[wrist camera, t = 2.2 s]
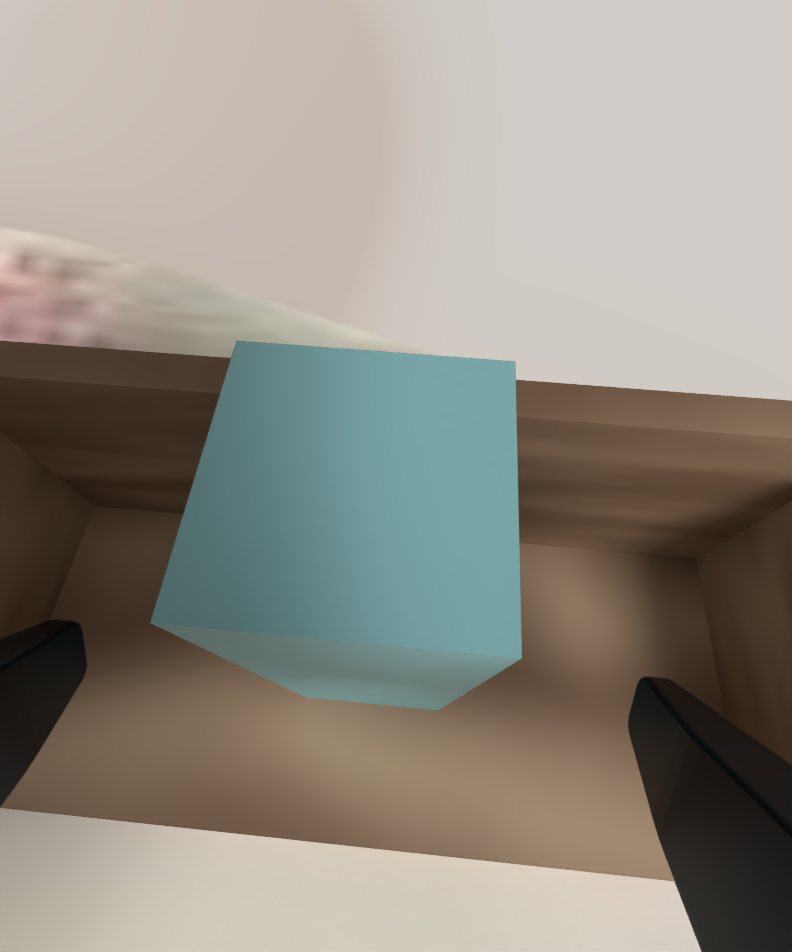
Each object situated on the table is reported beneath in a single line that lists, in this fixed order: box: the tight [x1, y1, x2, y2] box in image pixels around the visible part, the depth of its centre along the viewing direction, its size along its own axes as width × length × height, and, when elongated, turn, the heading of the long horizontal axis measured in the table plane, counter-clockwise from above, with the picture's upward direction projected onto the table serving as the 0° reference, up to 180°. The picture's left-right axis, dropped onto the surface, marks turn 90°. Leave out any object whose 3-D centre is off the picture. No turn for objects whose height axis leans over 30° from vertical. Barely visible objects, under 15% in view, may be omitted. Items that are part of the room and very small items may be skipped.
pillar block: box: [150, 341, 522, 710], centre depth 11 cm, size 4×4×11 cm
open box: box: [0, 341, 792, 881], centre depth 13 cm, size 10×23×9 cm, turn 85°
